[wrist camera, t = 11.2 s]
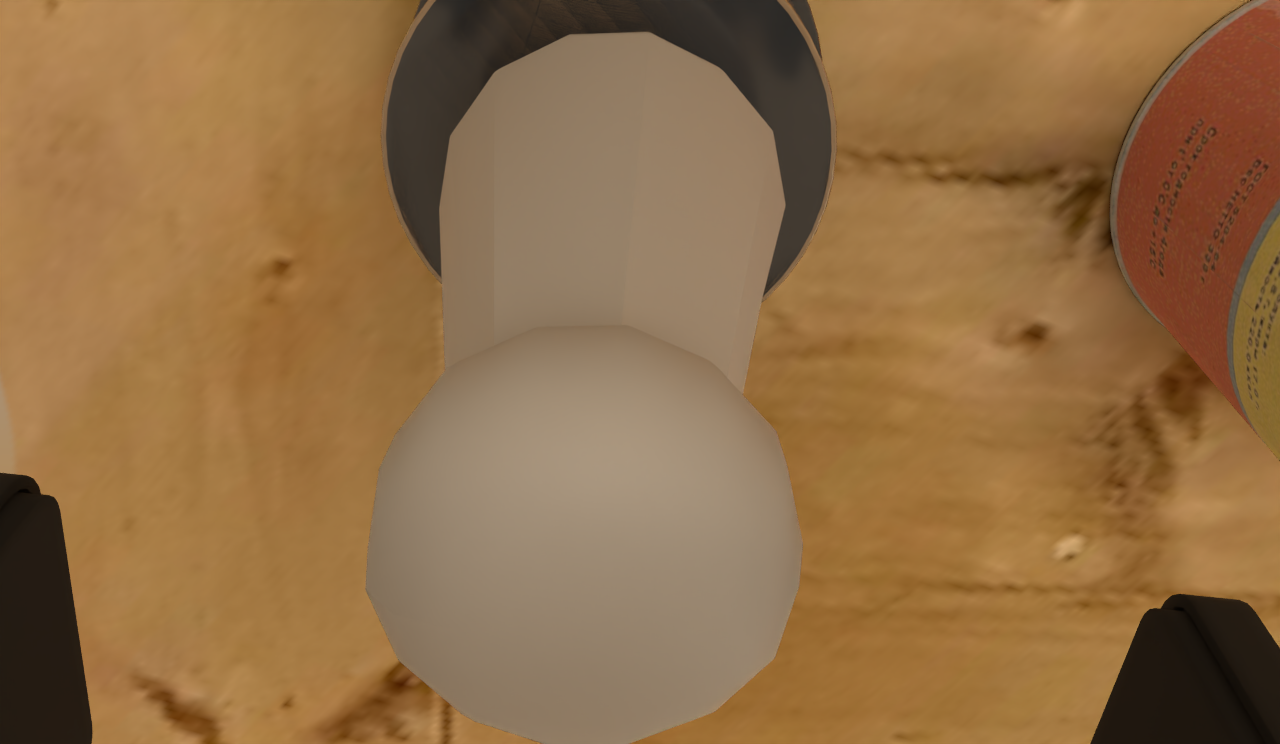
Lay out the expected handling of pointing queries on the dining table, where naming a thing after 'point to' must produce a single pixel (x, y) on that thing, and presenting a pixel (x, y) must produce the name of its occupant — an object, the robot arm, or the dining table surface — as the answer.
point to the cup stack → (609, 3)
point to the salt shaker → (594, 406)
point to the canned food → (1212, 209)
